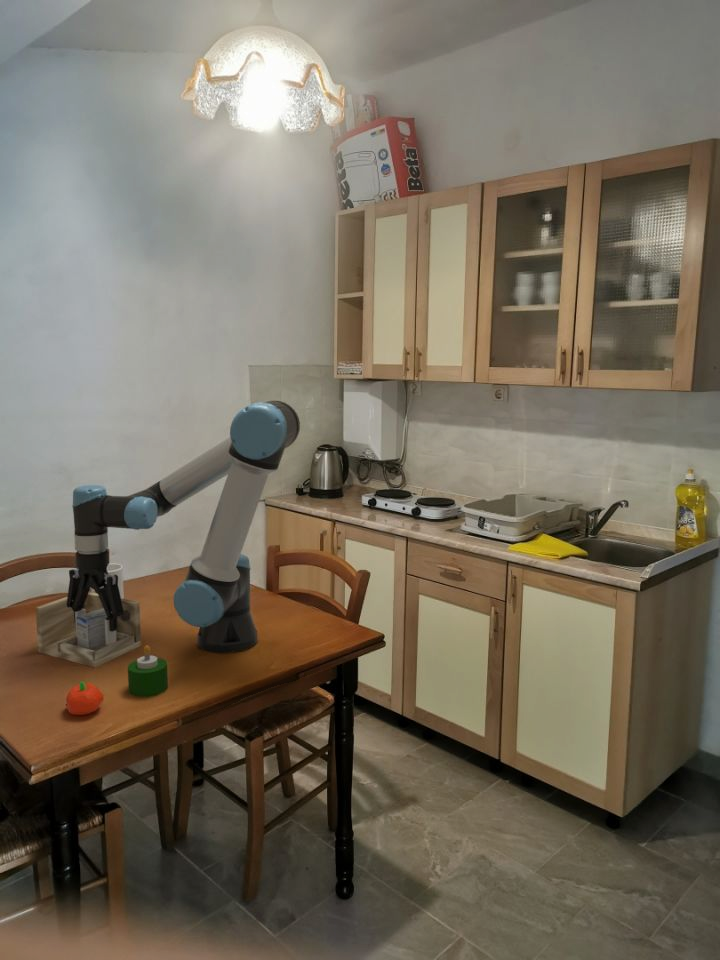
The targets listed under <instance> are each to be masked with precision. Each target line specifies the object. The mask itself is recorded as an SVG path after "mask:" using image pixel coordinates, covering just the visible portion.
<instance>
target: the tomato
mask: <svg viewBox="0 0 720 960" xmlns="http://www.w3.org/2000/svg"><path fill="white" fill-rule="evenodd" d="M65 699H66V703H65V707H66V708H67V711H68V712H69V714H71V715H74V716H83V715H88V714H92V713H94V712H95V711H97V709H98V708H99V707H100V705H102V703H103V701H104V694H103V692H102V691H101V690H100V689H99V688H98V687H97V686H96V685H94V684H92V683H84V681H82V680H81V681H80V683H79V685H75V686H74V687H72V688H70V689H69V690H68V692H67V695H66V698H65Z"/></svg>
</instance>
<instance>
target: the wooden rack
mask: <svg viewBox="0 0 720 960" xmlns="http://www.w3.org/2000/svg"><path fill="white" fill-rule="evenodd" d="M67 597H68V595H67V596H65V597H62V598H60V599H56V600H53V601H50V602H48V603H47V602H46V603H44V604H42V605H39V606H36V607H35V617H36V618H35V619H36V631H37V633H36V634H37V649H38V651H37V652H38V653H40V654H43V655H46V656H51V657H53V658H58V659H62V660H64V661H65V660H66V661H70V662H73V663H77V664H81V665H84V666H89V667H90V668H91V667H92V668H98V667H100V666H102V665H103V664H106V663H108V662H110V661H112V660H114V659H117V658H119V657H121V656H123V655H125V654H127V653H130V652H131V651H134V650H135V649H137V648H139V647H141V646H142V639H141V638H142V637H141V635H142V634H141V613H140V611H141V609H140V601H136V600H131V599H126V598H124V599H122V598H121V602H122V606H123V611H124V614H123V615H121V616H119V617H117V630H116V642H114V643H112V644H110V645H107V646H105V647H103V648H101V649H99V650H96V651H94V650H90V649H87V648H83V647H79V646H78V639H77V637H76V623H75V621H74V611H73V610H72V608H71V607H69V608H68V607H67ZM72 601H73V600H72ZM102 608H103V605H102V603H101V600H100V598H99V595H98V594H97V593H93V592H91V591H89V593H88V595H87V598H86V601H85V603H84V608H82V609H86V613H89V612H92V611H95V610H99V609H102Z"/></svg>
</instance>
